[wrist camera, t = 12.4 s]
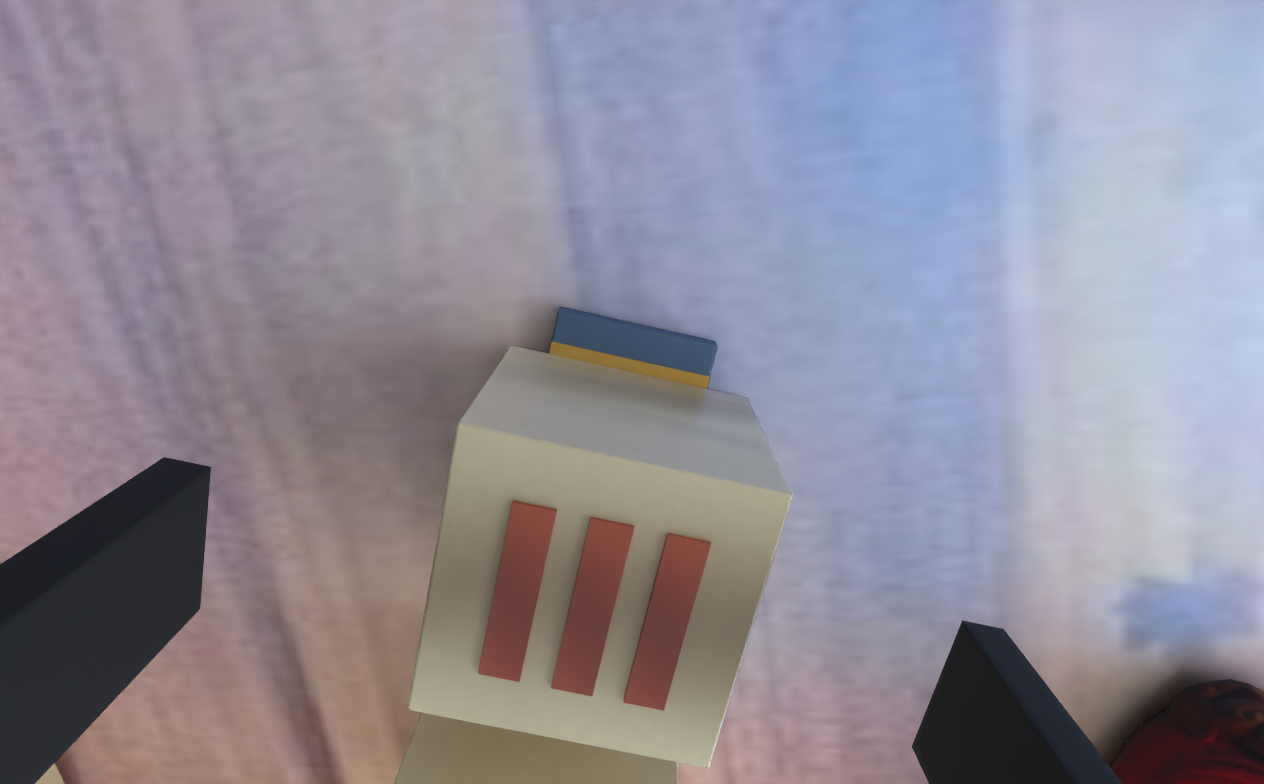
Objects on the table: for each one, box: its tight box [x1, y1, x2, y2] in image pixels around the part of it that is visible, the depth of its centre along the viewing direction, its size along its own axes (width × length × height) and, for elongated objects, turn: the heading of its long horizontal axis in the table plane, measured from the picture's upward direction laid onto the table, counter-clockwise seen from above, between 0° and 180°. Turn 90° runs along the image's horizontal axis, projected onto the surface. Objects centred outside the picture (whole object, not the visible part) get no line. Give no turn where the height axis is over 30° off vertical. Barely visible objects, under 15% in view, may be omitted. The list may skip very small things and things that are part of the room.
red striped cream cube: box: [408, 346, 793, 768], centre depth 17 cm, size 6×6×6 cm
